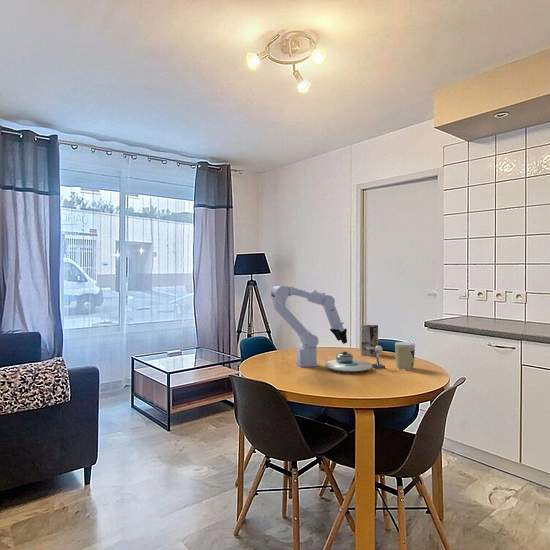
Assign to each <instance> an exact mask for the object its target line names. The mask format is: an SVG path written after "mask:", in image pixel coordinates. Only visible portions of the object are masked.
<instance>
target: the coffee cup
mask: <svg viewBox="0 0 550 550" xmlns="http://www.w3.org/2000/svg"><path fill="white" fill-rule="evenodd" d="M415 347H416V345H415V343H414V342H412V341H411V342H410V341H396V342H395V343H394V348H395V349H394V351H395V366H396V369H397V368H399V369H398V370H401V369H405V370H404V371H410V370H409V369H412V370H414V364H415V362H414V361H415V349H416V348H415Z"/></svg>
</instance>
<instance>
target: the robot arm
mask: <svg viewBox="0 0 550 550" xmlns="http://www.w3.org/2000/svg"><path fill="white" fill-rule="evenodd" d="M270 292H271V293H270V297H271V300H272V305H273V309H274V311H275V312H276V313H277V314H278V315H279V316H280V317H281V318H282V319H283V320H284V321H285V322H286V324H287V325H288V326H290V328H291V329H292V330H293V331H294V332H295V334H297V337H299V340H300V342H301V347H298V348H297V351H296V356H297V357H296V359H297V362H296V364H297V365H298V366H299V367H301V368H304V367H305V368H309V367H320V364H319V363H317V361H318V360H317V346H318V345H319V337H318V336H316V335H315V334H313V333H311V331H310V330H308V329H307V328H306V327H305V326H304V325H303V323H302V322H300V321H299V319H298V318H297V317H295V315H294V314H293V313H292V312H291V311H290V309H288V308H287V306H286V303H287V302H286V301H287V300H288V297H291V296H295V297H296V296H297V297H301V298H305V299H306V300H307V301H308V302H309V303H313V304H316V305H321V306H323V310H324V312H325V314H326V317H327V321H328V323H329V326H330V329H329V330H330V332H331V334H332V335H334V336H335V339H336V340H337V341H338V342H339V341H341V343H342V344H343V345H345V344H347V343H348V338H347V333H348V330H347V328H344V326H343V325H344V324H345V322H344V321H341V317H340V315H339V313H338V309H337V308H336V305H335V302H336V300H335V298H334V297H333V296H332V295H329V294H326V293H324V292H318V290H316V289H313V290H310V291H306V290H303V289H299V288H296V287H293V286H285V285H279V284H277V285H274V286H272V288H271V290H270Z"/></svg>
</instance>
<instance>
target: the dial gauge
mask: <svg viewBox="0 0 550 550" xmlns="http://www.w3.org/2000/svg"><path fill="white" fill-rule="evenodd" d="M366 349H375V351H376V352H377V354H376V363H371V364H372V368H373V369H374V368H375V370H378V369H377V368H384V369H386V365H384V364H382V363H380V354H381V353H382V352H383V347H382V345H379V344H378V346H376V347H366Z"/></svg>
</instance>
